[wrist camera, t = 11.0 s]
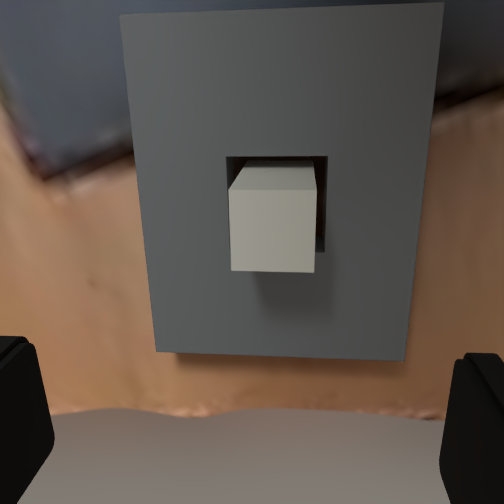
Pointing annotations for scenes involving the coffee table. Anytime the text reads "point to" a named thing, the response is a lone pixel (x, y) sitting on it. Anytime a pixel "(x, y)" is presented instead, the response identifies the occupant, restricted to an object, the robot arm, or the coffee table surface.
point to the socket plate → (283, 144)
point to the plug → (273, 217)
